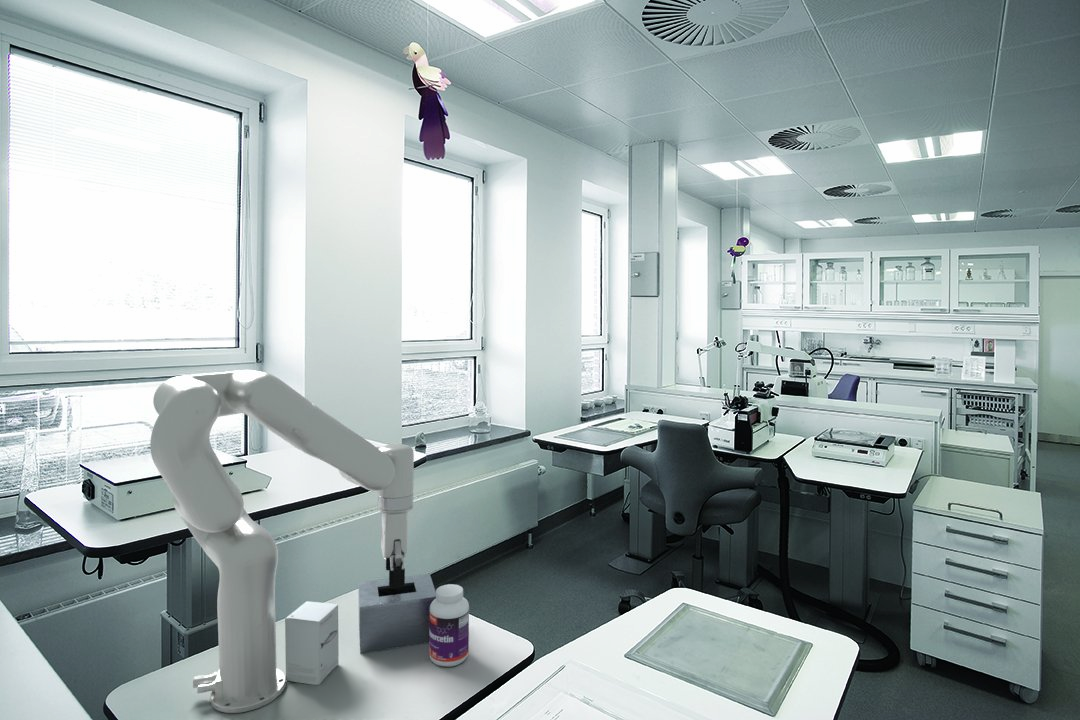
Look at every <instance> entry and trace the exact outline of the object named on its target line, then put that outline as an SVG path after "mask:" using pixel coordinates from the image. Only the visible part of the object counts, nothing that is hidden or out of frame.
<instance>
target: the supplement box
mask: <svg viewBox="0 0 1080 720" xmlns="http://www.w3.org/2000/svg"><path fill="white" fill-rule="evenodd" d="M284 624H285V625H284V627H285V629H284V631H285V632H284V635H285V636H284V637H285V639H284V641H285V645H284V647H285V649H284V650H285V652H284V653H285V677H286V682H287V681H288V682H294V683H299V684H300V683H301V684H307V685H313V686H320V685H321V684H322V682H323V681H324V680H325V678H326V677H327V676H328V675H330V673H331V672H332V671H333V670H334V669H335V668H336V667H337V666H338V665H339V663H340V662H339V655H340V654H339V604H335V603H328V602H320V601H308V600H307V601H305V602H304V603H302V604H301V605H300V606H299V607H297V608H296V609H295V610H294V611H293V612H291V613H290V614H289V615H287V617H285V618H284Z"/></svg>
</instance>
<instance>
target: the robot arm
mask: <svg viewBox="0 0 1080 720" xmlns="http://www.w3.org/2000/svg"><path fill="white" fill-rule="evenodd" d="M152 402H153V407H154V409H155V411H156V413H157V414H158V416H157V418H156V420H155V422H154V425H153V427H152V431H151V434H150V443H149V449H150V456H151V459H152V461H153V463H154V465H155V468H156V469H157V472H159V475H160V476H161V477H162V479H163V480H164V482H165V484H166V485H167V488H168V489H169V490H170V492H171V493H172V502H173V503H172V504H173V506H174V509H175V510H176V513H177V515H178V516H179V517H180V519H181V520H182V522H183V523H184V524H185V525H186V527H187V529H188V530H189V532H190V533H191V534H192V536H193V537H194V539H195V540H196V541H197V543H198V544H199V546H200V547H201V549H202V550H203V551H204V553H205V554H206V556H207V557H208V558H210V560H211V561H212V562H213V564H215V566H216V567H217V568H218V572H219V582H218V590H217V600H216V601H217V602H216V603H217V605H216V609H217V632H218V639H217V640H218V659H219V660H218V668H219V669H218V671H213V673H211V674H200V675H195V676H194V677H193V681H192V688H193V689H197V692H196V693H197V694H202V693H207V692H210V696H209V697H210V699H209V700H210V705H211V707H212V708H214V710H216V711H218V712H222V713H225V714H226V713H227V714H239V713H247V712H249V711H253V710H256V709H257V710H258V709H259V708H262V707H264V706H266V705H267V704H270V703H271V702H272V701H274V700H275V699H276V698H278V697H279V696H280V695H281V694H282V693H283V691H284V690H285V688H286V683H287V680H286V673H284V672H283V671H282V670H281V669H279V668H277V634H276V633H277V630H276V629H277V628H276V626H277V625H276V575H277V568H278V561H279V554H278V553H279V550H278V547H277V543H276V541H275V539H274V537H273V536H272V535H271V533H270V532H269V531H268V530H267V529H266V528H265V527H263V526H261V524H258V522H256V521H254V520H253V519H252V518H251V517H250V515H249V514H248V512H247V511H246V510H245V507H244V498H243V497H244V496H243V495H242V493H241V490H240V489H239V487H238V486H237V484H235V482H234V481H233V480H232V478H231V477H230V475H229V473H228V472H227V470H226V469H225V468H224V466H223V465H222V463H221V462H220V460H219V458H218V456H217V454H216V452H215V451H214V449H213V447H212V444H211V440H210V437H211V436H210V435H211V431H212V428H213V425H215V422H216V420H217V419H218V418H219V417H220V418H221V417H227V416H231V415H237V414H238V415H239V414H244V415H245V416H247V417H249V418H251V419H252V420H254V421H255V422H256V423H258V424H260V425H261V426H262V427H265V428H266V429H268V430H269V431H270V432H272V433H273V434H274V435H276V436H277V437H279V438H280V439H282V440H284V441H286V442H287V443H289V444H290V445H291V446H293V447H294V448H295V449H298V450H299V451H300V452H302V453H304V454H307V455H308V456H310V457H312V458H315V459H318V460H320V461H322V462H324V463H327V464H328V465H330V466H332V467H333V468H335V469H337V470H338V472H339V474H340V475H341V477H342V478H343V479H344V480H346V481H348V482H350V483H352V484H354V485H357V486H360V487H361V488H364V489H365V490H368V491H372V492H377V511H378V512H380V513H382V514H381V536H380V538H381V541H380V548H381V553H382V555H381V556H382V558H383V559H384V560H385V571H388V573H389V574H388V579H389V588H390V589H395V588H403V587H404V586H405V577H406V573H405V572H406V569H405V559H404V558H405V557H407V551H408V535H409V534H408V533H409V532H408V530H409V529H408V528H409V527H408V523H409V521H408V520H409V519H408V518H409V517H408V516H409V515H408V514H409V512H410V511H412V510H413V509H414V474H415V473H414V471H415V470H414V469H415V468H414V467H415V466H414V464H415V463H414V461H415V458H414V457H415V455H414V450H413V447H411V446H410V445H407V444H403V443H402V444H401V443H393V444H387V445H386V444H385V445H383V446H375V445H374V444H372V443H371V442H370V441H368V440H367V439H366V438H364V437H362V436H361V435H359V434H358V433H356V432H355V431H353V430H351V429H350V428H349V427H347V426H346V425H344V424H343V423H342V422H340V421H339V420H338V419H335V417H334V416H331V415H330V414H329V413H327V412H325V411H324V410H323V409H321V408H320V407H318V406H317V405H316V404H314V403H312V401H310V400H309V399H307V398H306V397H305V396H303V395H302V394H300V393H299V392H298V391H296V390H295V389H293V387H291V386H290V385H289V384H287V383H286V382H284V381H283V380H282V379H280V378H278V377H277V376H275V375H274V374H271V373H269V372H266V371H265V372H264V371H259V370H255V369H244V370H243V369H242V370H232V371H224V372H222V371H221V372H214V373H213V372H211V373H202V374H201V373H200V374H199V373H198V374H189V375H188V374H186V375H178V376H174V377H171V378H168V379H167V380H164V381H163V382H162V383H161V384H159V386H158V387H157V389H156V390H155V392H154V395H153V401H152Z"/></svg>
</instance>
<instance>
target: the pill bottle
mask: <svg viewBox="0 0 1080 720" xmlns="http://www.w3.org/2000/svg"><path fill="white" fill-rule="evenodd" d="M435 591H436V599H434V600H433V601H432V603H431V605H430V626H429V643H428V644H429V646H428V648H429V649H428V650H429V651H428V652H429V653H428V655H429V659H430V661H431V662H433V664H434V665H437V666H439V667H455V666H457V665H459V664H462V663H463V662H464V661H465V660H466V659H467V657H468V656H469V653H470V652H469V651H470V650H469V647H470V646H469V645H470V644H469V641H470V639H469V638H470V631H469V630H470V628H469V627H470V605H469V601H468V599H466V598H465V597H464V588H463V587H462V586H461V585H459V584H453V583H452V584H451V583H448V584H444V585H440V586H439V587H437V588H436V589H435Z"/></svg>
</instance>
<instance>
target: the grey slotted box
mask: <svg viewBox="0 0 1080 720" xmlns="http://www.w3.org/2000/svg"><path fill="white" fill-rule="evenodd" d="M357 585H358V589H357V591H358V635H359V636H358V637H359V638H358V639H359V652H360V653H359V654H366V653H373V652H381V651H385V650H386V651H387V650H390V649H391V650H392V649H396V648H397V649H398V648H404V647H410V646H416V645H417V646H418V645H422V644H429V626H430V605H431V603H432V601H433V600H434V599H436V588H435V586H434V583H433V580H432V577H431V574H430V573H425V574H424V573H423V574H415V575H408V576H405V586H404V587H403V588H395V589H390V588H389V578H384V579H376V580H368V581H367V580H366V581H361V582H358V584H357Z"/></svg>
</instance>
